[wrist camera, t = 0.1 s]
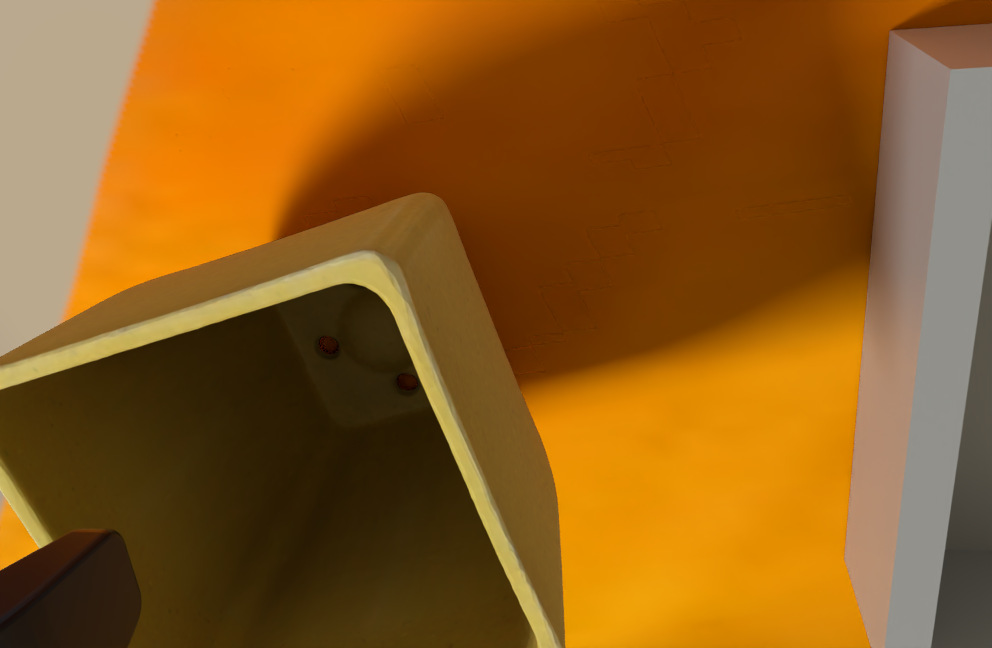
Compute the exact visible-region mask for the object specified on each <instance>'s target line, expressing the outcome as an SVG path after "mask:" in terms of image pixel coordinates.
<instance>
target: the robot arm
mask: <svg viewBox="0 0 992 648" xmlns="http://www.w3.org/2000/svg"><path fill="white" fill-rule="evenodd" d="M141 603H142V601H141V593H140V589H139V585H138V582H137V579H136V576H135V573H134V570H133V566H132V563H131V560H130V557H129V554H128V551H127V548H126V544H125V542H124V539H123V537H122V536H121V535H120V534H119V533H118V532H117V531H115V530H113V529H77V530H73V531H71V532H69V533H67V534H65V535H64V536H62V537H60V538H58V539H56V540H55V541H53V542H51V543H49V544H47V545H46V546H44V547H42V548H40V549H38V550H37V551H35V552H33V553H31V554H29V555H27V556H26V557H24V558H22V559H20V560H18V561H17V562H15V563H13V564H11V565H9V566H8V567H6V568H4V569H2V570H0V648H128V646H129V644H130V641H131V639H132V636H133V633H134V631H135V628H136V626H137V623H138V620H139V617H140V612H141Z"/></svg>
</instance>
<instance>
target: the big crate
mask: <svg viewBox="0 0 992 648" xmlns="http://www.w3.org/2000/svg"><path fill="white" fill-rule="evenodd" d="M844 559H845V562H846V566H847V569H848V572H849V576H850V579H851V582H852V586H853V589H854V592H855V596H856V599H857V602H858V606H859V609H860V612H861V615H862V619H863V622H864V625H865V629H866V632H867V635H868V639H869V642H870V645H871V648H992V23H990V24H975V25H960V26H945V27H931V28H916V29H901V30H890V34H889V46H888V58H887V69H886V81H885V93H884V104H883V116H882V127H881V139H880V151H879V162H878V174H877V186H876V197H875V209H874V220H873V232H872V244H871V255H870V267H869V279H868V290H867V302H866V313H865V325H864V337H863V348H862V360H861V372H860V383H859V395H858V406H857V418H856V430H855V441H854V453H853V464H852V476H851V488H850V499H849V511H848V523H847V534H846V546H845V557H844Z"/></svg>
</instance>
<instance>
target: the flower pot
mask: <svg viewBox="0 0 992 648" xmlns="http://www.w3.org/2000/svg"><path fill="white" fill-rule="evenodd" d="M324 336H329V337H331V338H333V339H335V340H336V341H337V343H338V345H339V350H338V351H337V352H336V353H334V354H327V353H325V352H323V351H322V350H321V349H320V347H319V340H320V338H322V337H324ZM403 373H406V374H411V375H413V376H414V377H415V378H416V379H417V382H418V385H417V387H416V388H415V389H413V390H404V389H402V388H400V387H399V385H398V383H397V377H398V376H399V375H400V374H403ZM0 491H1V492H2V494H3V495H4V497H5V498H6V500H7V501H8V503H9V504H10V506H11V507H12V509H13V510H14V511H15V513H16V514H17V516H18V517H19V519H20V520H21V522H22V523H23V525H24V526H25V528H26V529H27V531H28V532H29V534H30V535H31V537H32V538H33V540H34V541H35V543H36V544H37V545H38V547H39V548H42V547H44V546H46V545H47V544H49V543H51V542H53V541H55V540H56V539H58V538H60V537H62V536H64V535H65V534H67V533H69V532H71V531H73V530H77V529H113V530H115V531H117V532H118V533H119V534H120V535H121V536H122V537H123V539H124V542H125V544H126V548H127V551H128V554H129V557H130V560H131V563H132V566H133V570H134V573H135V576H136V579H137V582H138V585H139V589H140V593H141V601H142V603H141V612H140V617H139V620H138V623H137V626H136V628H135V631H134V633H133V636H132V639H131V641H130V644H129V646H128V648H565V630H564V608H563V586H562V565H561V548H560V530H559V514H558V502H557V494H556V488H555V483H554V479H553V475H552V471H551V468H550V464H549V461H548V458H547V455H546V451H545V448H544V446H543V443H542V440H541V438H540V435H539V433H538V430H537V428H536V426H535V424H534V421H533V419H532V417H531V414H530V412H529V409H528V407H527V405H526V402H525V400H524V398H523V395H522V393H521V390H520V388H519V385H518V383H517V381H516V378H515V376H514V373H513V371H512V368H511V366H510V363H509V361H508V358H507V356H506V354H505V351H504V349H503V346H502V344H501V341H500V339H499V336H498V334H497V331H496V328H495V326H494V323H493V321H492V318H491V316H490V313H489V311H488V308H487V305H486V303H485V300H484V298H483V295H482V293H481V290H480V288H479V285H478V283H477V280H476V277H475V275H474V272H473V270H472V267H471V265H470V262H469V260H468V257H467V255H466V252H465V249H464V247H463V244H462V241H461V239H460V236H459V233H458V230H457V228H456V225H455V223H454V220H453V218H452V215H451V213H450V211H449V209H448V207H447V205H446V203H445V202H444V201H443V200H442V199H441V198H440V197H438V196H436V195H435V194H432V193H424V192H420V193H414V194H411V195H407V196H404V197H401V198H397V199H395V200H392V201H389V202H386V203H383V204H381V205H378V206H375V207H372V208H369V209H366V210H364V211H361V212H358V213H355V214H352V215H349V216H346V217H343V218H341V219H338V220H335V221H332V222H329V223H326V224H323V225H321V226H318V227H315V228H312V229H308V230H305V231H302V232H299V233H296V234H293V235H290V236H287V237H284V238H281V239H278V240H276V241H273V242H270V243H267V244H264V245H261V246H258V247H255V248H252V249H248V250H245V251H242V252H239V253H236V254H233V255H230V256H226V257H223V258H220V259H217V260H214V261H211V262H208V263H205V264H201V265H198V266H195V267H192V268H189V269H186V270H182V271H178V272H175V273H171V274H168V275H165V276H162V277H159V278H156V279H152V280H150V281H147V282H144V283H142V284H139V285H137V286H134V287H131V288H129V289H127V290H124V291H122V292H120V293H118V294H116V295H114V296H112V297H110V298H108V299H106V300H104V301H102V302H100V303H98V304H96V305H95V306H93V307H91V308H89V309H87V310H86V311H84V312H82V313H80V314H78V315H76V316H75V317H73V318H71V319H69V320H67V321H65V322H64V323H62V324H60V325H58V326H56V327H54V328H52V329H50V330H49V331H47V332H45V333H43V334H41V335H39V336H38V337H36V338H34V339H32V340H30V341H29V342H27V343H25V344H23V345H21V346H19V347H18V348H16V349H14V350H12V351H10V352H9V353H7V354H5V355H3V356H1V357H0Z"/></svg>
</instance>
